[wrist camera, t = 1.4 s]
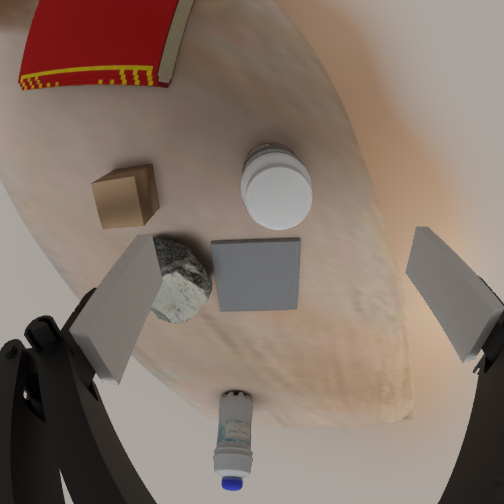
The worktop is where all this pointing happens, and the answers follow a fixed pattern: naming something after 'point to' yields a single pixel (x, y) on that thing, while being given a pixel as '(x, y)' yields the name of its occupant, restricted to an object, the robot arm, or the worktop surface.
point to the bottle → (234, 440)
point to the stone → (179, 282)
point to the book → (103, 43)
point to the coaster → (257, 274)
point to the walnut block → (126, 197)
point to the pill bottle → (276, 187)
